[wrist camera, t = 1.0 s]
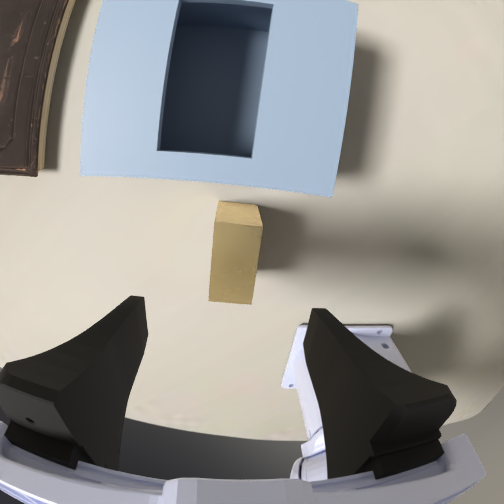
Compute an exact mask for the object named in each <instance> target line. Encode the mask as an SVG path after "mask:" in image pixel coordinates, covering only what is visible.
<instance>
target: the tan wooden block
mask: <svg viewBox="0 0 504 504" xmlns="http://www.w3.org/2000/svg"><path fill="white" fill-rule="evenodd" d="M262 231H263V224H262V221H261V217H260V214H259V210H258V207H257V205H253V204H243V203H234V202H223V201H219V202H218V207H217V212H216V217H215V223H214V235H213V247H212V259H211V273H210V287H209V301H214V302H226V303H238V304H252V297H253V291H254V284H255V278H256V271H257V265H258V258H259V251H260V245H261V238H262Z"/></svg>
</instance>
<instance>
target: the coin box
mask: <svg viewBox="0 0 504 504" xmlns="http://www.w3.org/2000/svg"><path fill="white" fill-rule="evenodd" d="M357 16H358V4H356V3H353V2H350V1H347V0H103V2H102V6H101V10H100V13H99V17H98V21H97V26H96V30H95V35H94V39H93V44H92V49H91V55H90V61H89V67H88V73H87V80H86V88H85V97H84V106H83V118H82V133H81V162H80V176H111V177H136V178H155V179H171V180H185V181H198V182H210V183H220V184H231V185H240V186H249V187H258V188H267V189H275V190H283V191H290V192H298V193H305V194H312V195H319V196H325V197H332V196H333V191H334V186H335V180H336V175H337V170H338V164H339V158H340V153H341V147H342V141H343V135H344V128H345V122H346V115H347V108H348V101H349V94H350V86H351V78H352V69H353V61H354V51H355V41H356V29H357Z"/></svg>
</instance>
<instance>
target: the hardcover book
mask: <svg viewBox="0 0 504 504" xmlns="http://www.w3.org/2000/svg"><path fill="white" fill-rule="evenodd" d="M75 1H76V0H0V175H17V176H31V177H37V176H38V170H40V169H44V164H45V146H46V134H47V124H48V115H49V107H50V101H51V94H52V88H53V83H54V77H55V72H56V68H57V63H58V59H59V54H60V50H61V46H62V43H63V39H64V35H65V32H66V28H67V25H68V22H69V19H70V16H71V13H72V10H73V7H74V4H75Z"/></svg>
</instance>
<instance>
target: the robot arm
mask: <svg viewBox="0 0 504 504" xmlns="http://www.w3.org/2000/svg"><path fill="white" fill-rule="evenodd" d="M379 330H380V331H379ZM392 331H393V329H392V327H391V326H344V325H343V324H342V323H341V322H340V321H339V320H338V319H337V318H336V317H334V316H333V315H332V314H331V313H330V312H329V311H328V310H327V309H325V308H312V311H311V315H310V319H309V323H308V325H300V326H299V327H298V328H297V330H296V334H295V337H294V341H293V345H292V348H291V352H290V355H289V359H288V362H287V365H286V369H285V372H284V376H283V379H282V382H281V386H282V388H286V389H290V388H297V391H298V396H299V400H300V405H301V409H302V414H303V418H304V423H305V428H306V432H307V437H308V442H306V443H304V444H302V445H301V449H302V454H303V457H301V458H299V459H297V460H296V461H295V463H294V465H293V467H292V471H291V475H290V479H265V480H225V479H205V478H177V479H172V480H169V481H168V480H161V479H154V478H149V477H143V476H138V475H133V474H128V473H123V472H119V471H118V468H119V454H120V445H121V436H122V429H123V424H124V418H125V412H126V407H127V402H128V398H129V395H130V391H131V389H132V386H133V383H134V380H135V377H136V374H137V372H138V369H139V366H140V363H141V360H142V358H143V355H144V351H145V347H146V342H147V337H148V329H147V320H146V311H145V301H144V297H140V296H130V297H128V298H127V299H126V300H125V301H123V302H122V303H121V304H120V305H118V306H117V307H116V308H115V309H114V310H112V311H111V312H110V313H109V314H107V315H106V316H105V317H104V318H102V319H101V320H100V321H98V322H97V323H95V324H94V325H93V326H91V327H90V328H89V329H87V330H86V331H84V332H83V333H81V334H79V335H78V336H76V337H74V338H73V339H71V340H69V341H67V342H65V343H63V344H61V345H59V346H57V347H55V348H53V349H51V350H48V351H46V352H43V353H41V354H38V355H35V356H32V357H29V358H25V359H21V360H17V361H13V362H8V363H6V364H5V366H4V367H3V369H2V371H1V372H0V406H1V408H2V409H3V410H4V412H5V413H6V415H7V416H8V417H9V419H10V420H11V422H10V424H9V426H7V425H6V424H4V423H3V422H2V421H0V490H2V491H4V492H5V493H7V494H9V495H11V496H12V497H14V498H16V499H18V500H19V501H21V502H23V503H25V504H447V503H449V502H451V501H453V500H454V499H456V498H457V497H458V496H460V495H461V494H463V493H464V492H466V491H467V490H468V489H470V488H471V487H473V486H474V485H475V484H477V483H478V482H479V481H480V480H482V479H483V478H484V477H485V476H486V472H485V470H484V468H483V466H482V464H481V462H480V460H479V458H478V456H477V454H476V452H475V450H474V448H473V446H472V445H471V443H470V441H469V439H468V437H467V436H466V434H462V435H459V436H457V437H454V438H452V439H449V440H447V441H445V442H444V443H442V444H440V442H439V440H438V439H439V438H440V437H441V433H440V431H439V428H440V427H441V426H442V425H443V424H444V422H445V421H446V420H447V419H448V418H449V416H450V415H451V414H452V412H453V411H454V409H455V407H456V399H455V397H454V396H453V394H452V392H451V391H450V389H449V388H448V386H447V385H444V384H441V383H438V382H435V381H431V380H428V379H426V378H423V377H421V376H418V375H416V374H414V373H412V372H411V370H410V368H409V367H408V365H407V363H406V362H405V360H404V358H403V357H402V355H401V353H400V352H399V350H398V349H397V347H396V345H395V344H394V342H393V341H392V339H391V337H390V335H391V333H392Z"/></svg>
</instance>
